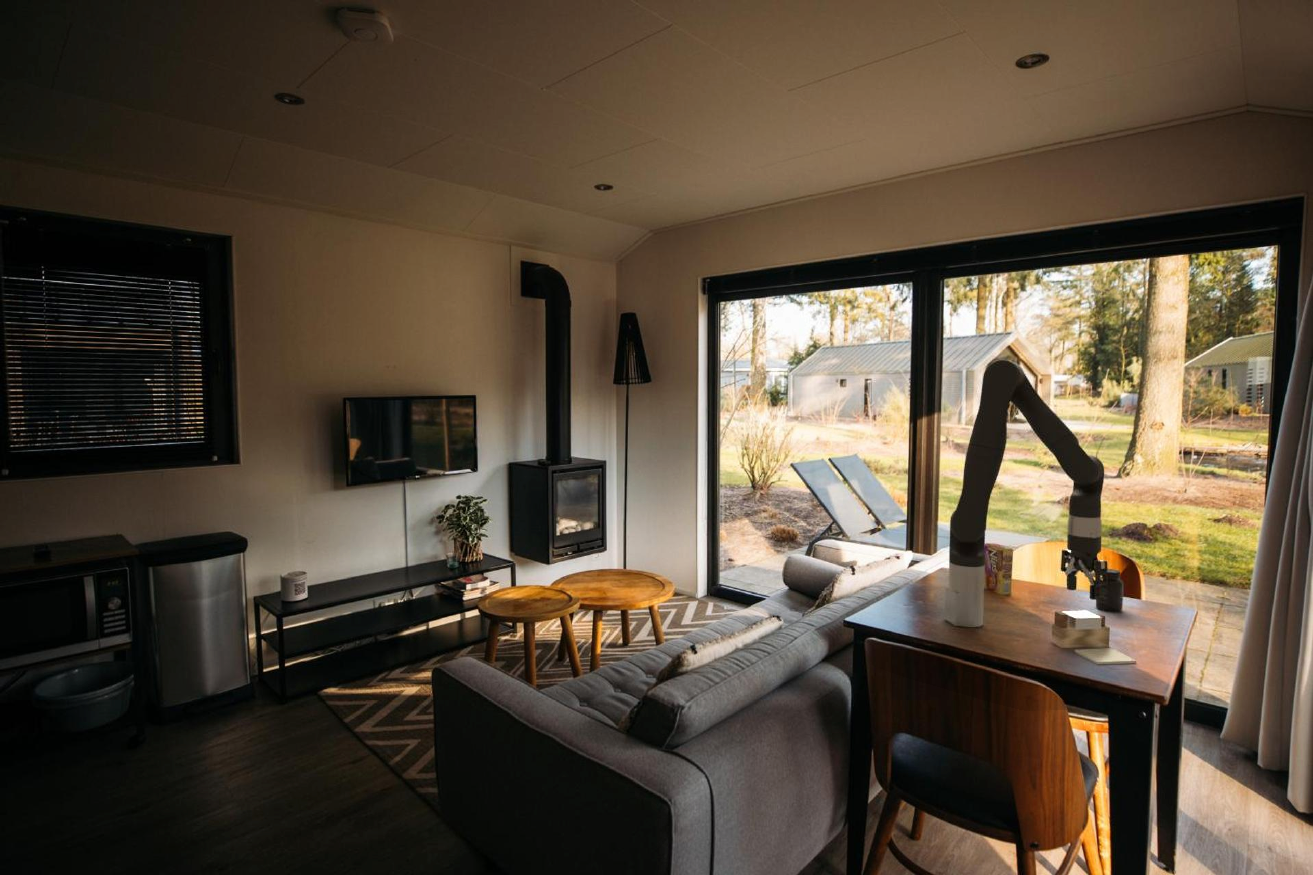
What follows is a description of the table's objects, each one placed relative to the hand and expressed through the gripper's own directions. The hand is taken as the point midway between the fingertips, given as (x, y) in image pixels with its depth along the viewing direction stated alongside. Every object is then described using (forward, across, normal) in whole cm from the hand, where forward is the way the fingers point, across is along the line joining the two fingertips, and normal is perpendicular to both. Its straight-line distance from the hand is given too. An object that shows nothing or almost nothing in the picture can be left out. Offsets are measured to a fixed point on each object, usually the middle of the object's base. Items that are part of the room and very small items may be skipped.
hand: (1082, 594), depth 181 cm
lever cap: (+8, 0, 0) cm, 8 cm away
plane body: (+13, 0, 0) cm, 13 cm away
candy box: (+13, -48, +6) cm, 50 cm away
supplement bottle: (+14, -27, +29) cm, 42 cm away
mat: (+13, +9, 0) cm, 16 cm away
